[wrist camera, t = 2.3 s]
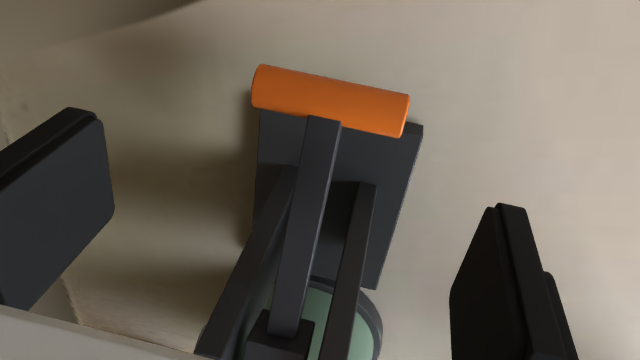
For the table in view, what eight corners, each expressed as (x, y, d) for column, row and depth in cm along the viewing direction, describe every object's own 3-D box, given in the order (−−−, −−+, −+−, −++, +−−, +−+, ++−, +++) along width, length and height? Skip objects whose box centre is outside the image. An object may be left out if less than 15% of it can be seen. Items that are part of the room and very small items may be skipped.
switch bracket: (267, 91, 24) (139, 271, 13) (423, 125, 23) (416, 341, 13) (255, 247, 30) (163, 450, 20) (377, 276, 30) (347, 502, 19)
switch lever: (268, 64, 17) (250, 62, 14) (408, 93, 16) (412, 96, 14) (218, 359, 20) (196, 397, 17) (335, 390, 19) (329, 433, 17)
